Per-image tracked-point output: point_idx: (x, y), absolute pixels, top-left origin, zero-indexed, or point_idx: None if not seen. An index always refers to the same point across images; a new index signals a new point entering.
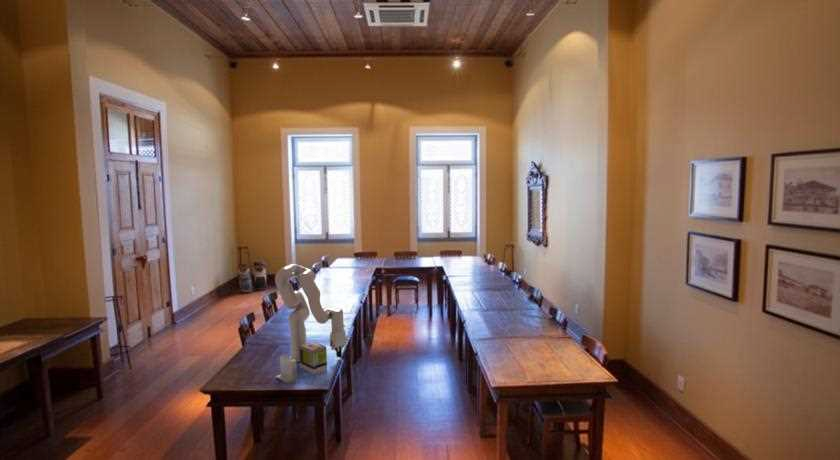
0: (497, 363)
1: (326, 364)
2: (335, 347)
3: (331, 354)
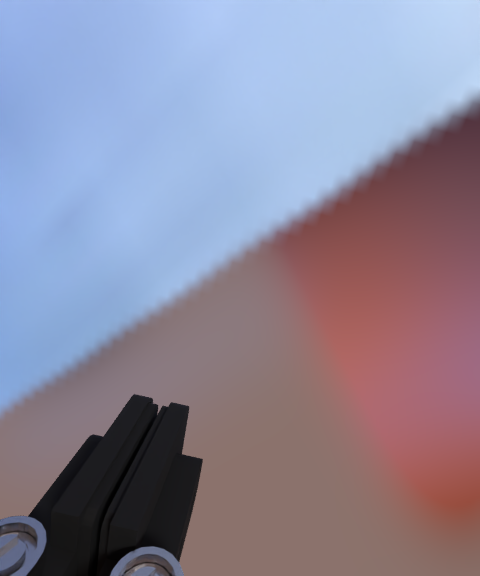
0: None
1: None
2: None
3: (299, 76)
